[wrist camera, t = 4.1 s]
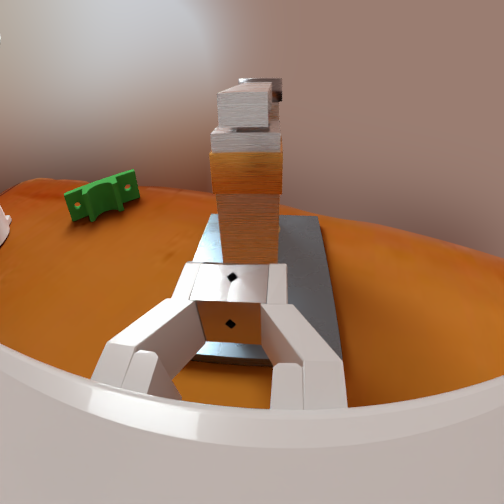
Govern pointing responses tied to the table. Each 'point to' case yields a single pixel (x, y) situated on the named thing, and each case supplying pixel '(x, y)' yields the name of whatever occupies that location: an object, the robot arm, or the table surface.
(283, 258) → the bolt hole plate
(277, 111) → the grey metal upright piece
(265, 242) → the post
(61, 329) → the table surface
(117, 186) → the pipe clamp
